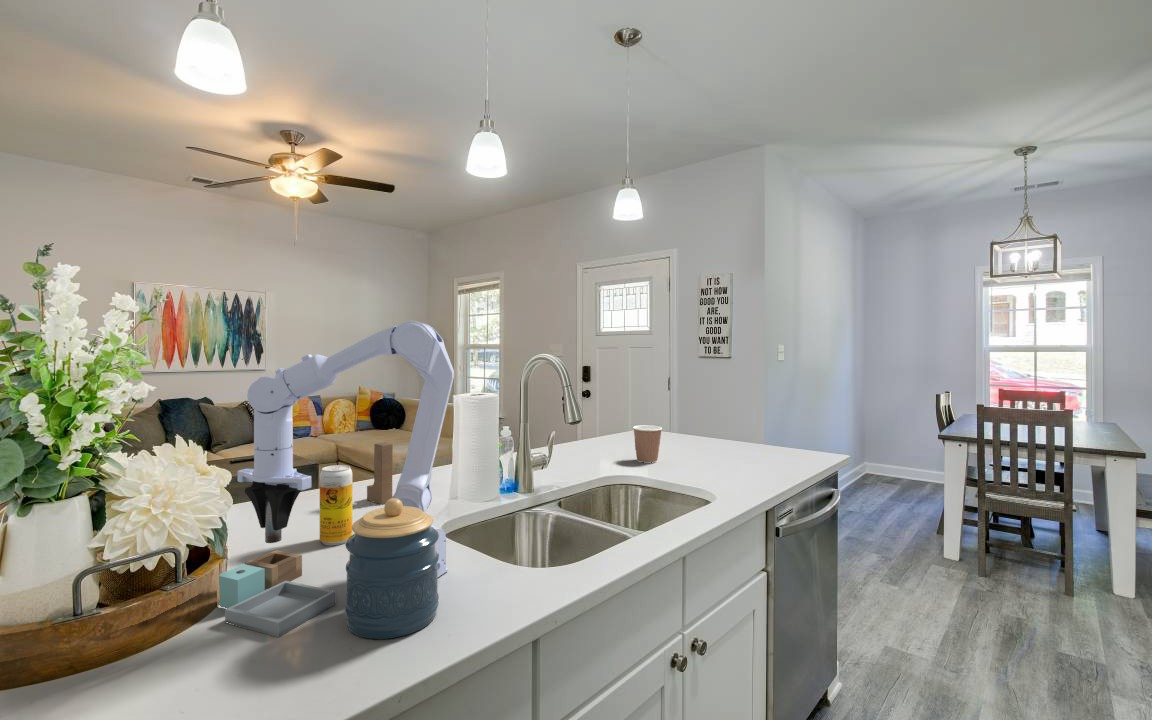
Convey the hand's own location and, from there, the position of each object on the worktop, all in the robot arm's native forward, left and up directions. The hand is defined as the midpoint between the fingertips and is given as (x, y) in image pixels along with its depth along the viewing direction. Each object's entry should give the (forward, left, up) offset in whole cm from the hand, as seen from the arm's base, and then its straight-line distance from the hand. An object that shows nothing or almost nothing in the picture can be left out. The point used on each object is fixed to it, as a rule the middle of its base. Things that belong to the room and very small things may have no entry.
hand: (273, 527), depth 91 cm
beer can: (+4, -18, -9) cm, 21 cm away
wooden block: (+15, -44, -9) cm, 47 cm away
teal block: (-3, +8, -9) cm, 12 cm away
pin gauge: (0, 0, -2) cm, 2 cm away
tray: (-11, +8, -9) cm, 16 cm away
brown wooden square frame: (0, 0, -9) cm, 9 cm away
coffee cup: (-38, -119, -9) cm, 125 cm away
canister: (-27, +3, -9) cm, 29 cm away
